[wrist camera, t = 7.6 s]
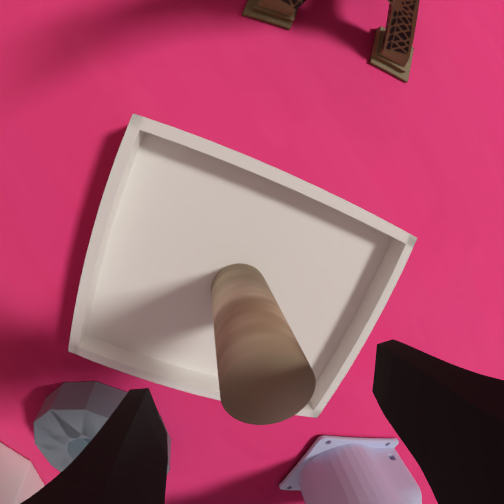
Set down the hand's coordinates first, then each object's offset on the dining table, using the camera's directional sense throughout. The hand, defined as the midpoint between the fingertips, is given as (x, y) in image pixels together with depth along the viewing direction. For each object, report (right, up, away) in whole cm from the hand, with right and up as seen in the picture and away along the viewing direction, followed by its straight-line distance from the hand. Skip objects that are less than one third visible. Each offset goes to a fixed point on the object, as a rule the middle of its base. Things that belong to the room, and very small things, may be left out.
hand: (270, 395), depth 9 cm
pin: (-1, +2, +8) cm, 9 cm away
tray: (-1, +3, +9) cm, 10 cm away
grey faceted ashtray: (-12, -9, +11) cm, 18 cm away
